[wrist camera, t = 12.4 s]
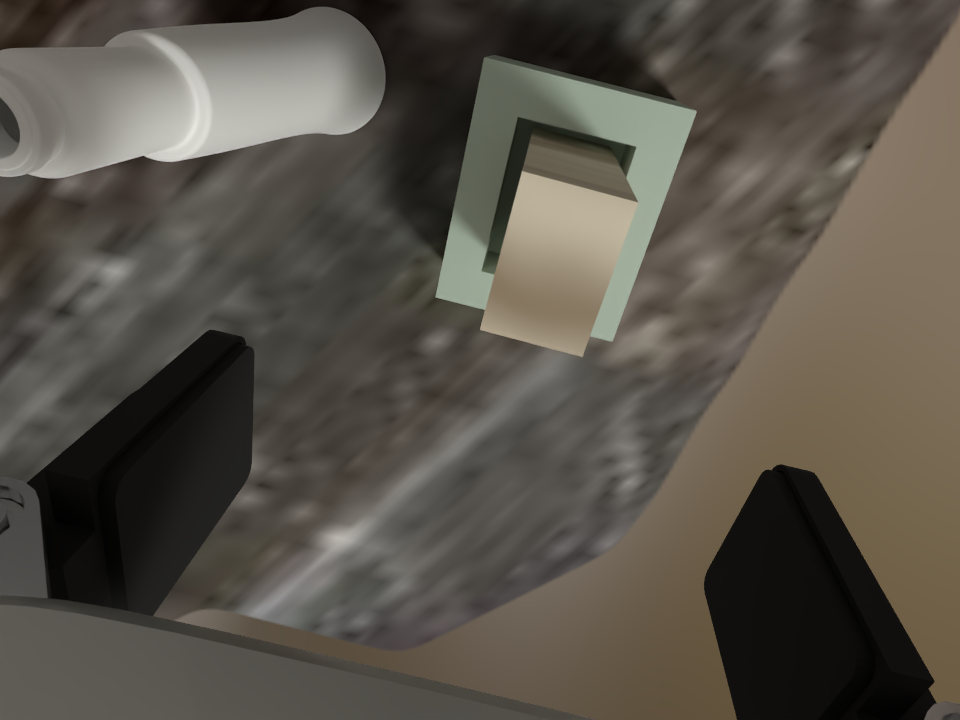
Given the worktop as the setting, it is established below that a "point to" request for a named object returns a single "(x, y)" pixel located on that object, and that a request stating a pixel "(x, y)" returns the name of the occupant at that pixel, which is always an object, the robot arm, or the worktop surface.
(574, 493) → the worktop surface
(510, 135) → the end cap
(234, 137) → the cosmetic bottle
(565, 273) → the beige rectangular block
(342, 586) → the worktop surface
